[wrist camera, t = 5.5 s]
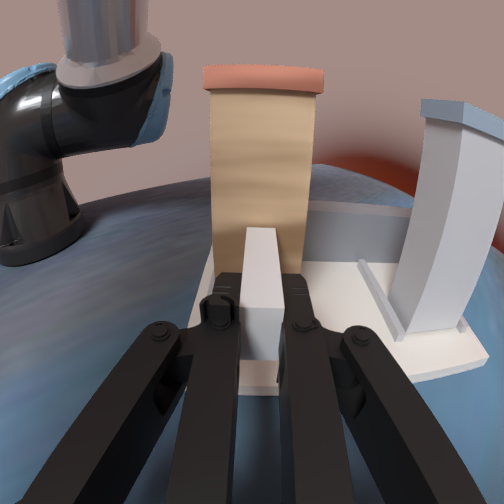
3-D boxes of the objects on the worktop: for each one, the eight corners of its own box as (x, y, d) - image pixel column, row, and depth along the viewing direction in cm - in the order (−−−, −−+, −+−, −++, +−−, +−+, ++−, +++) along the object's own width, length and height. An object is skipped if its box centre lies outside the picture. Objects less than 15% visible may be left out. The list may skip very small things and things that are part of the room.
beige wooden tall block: (297, 326, 18) (323, 69, 11) (212, 324, 18) (203, 65, 11) (291, 286, 22) (307, 79, 15) (220, 284, 22) (217, 76, 15)
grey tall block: (459, 329, 17) (520, 129, 10) (403, 336, 17) (463, 101, 10) (435, 295, 21) (478, 119, 14) (383, 297, 21) (421, 99, 14)
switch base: (483, 365, 15) (520, 303, 12) (176, 389, 15) (154, 313, 12) (403, 253, 30) (414, 205, 28) (214, 246, 31) (212, 193, 28)
